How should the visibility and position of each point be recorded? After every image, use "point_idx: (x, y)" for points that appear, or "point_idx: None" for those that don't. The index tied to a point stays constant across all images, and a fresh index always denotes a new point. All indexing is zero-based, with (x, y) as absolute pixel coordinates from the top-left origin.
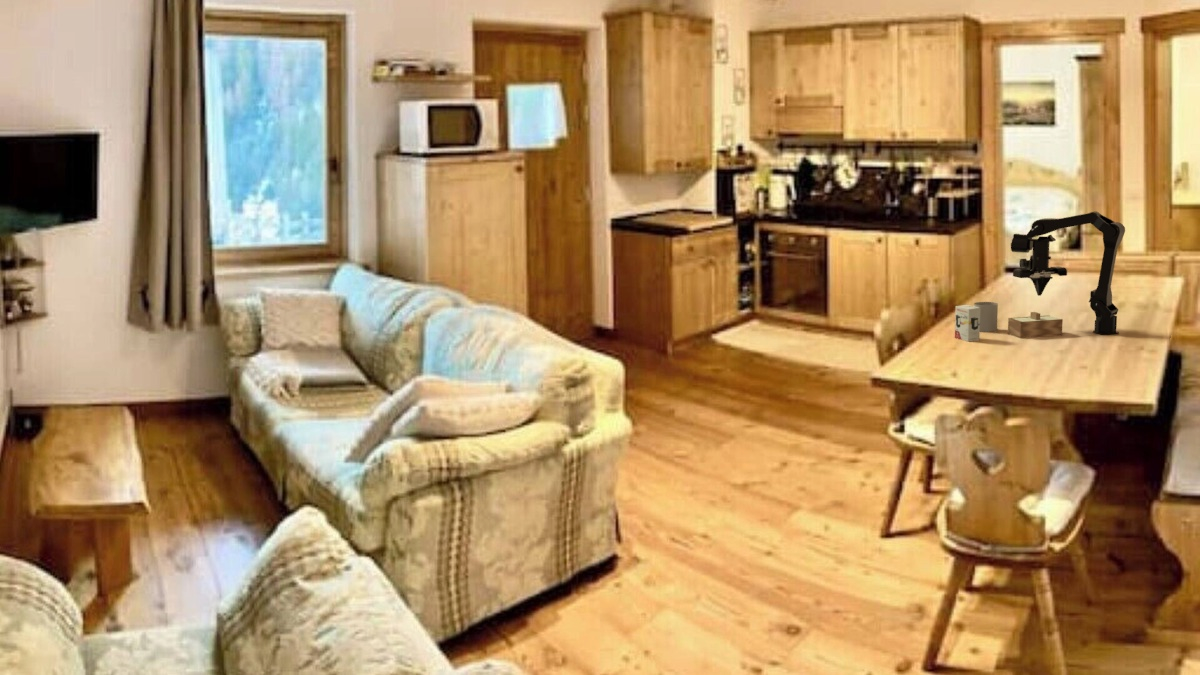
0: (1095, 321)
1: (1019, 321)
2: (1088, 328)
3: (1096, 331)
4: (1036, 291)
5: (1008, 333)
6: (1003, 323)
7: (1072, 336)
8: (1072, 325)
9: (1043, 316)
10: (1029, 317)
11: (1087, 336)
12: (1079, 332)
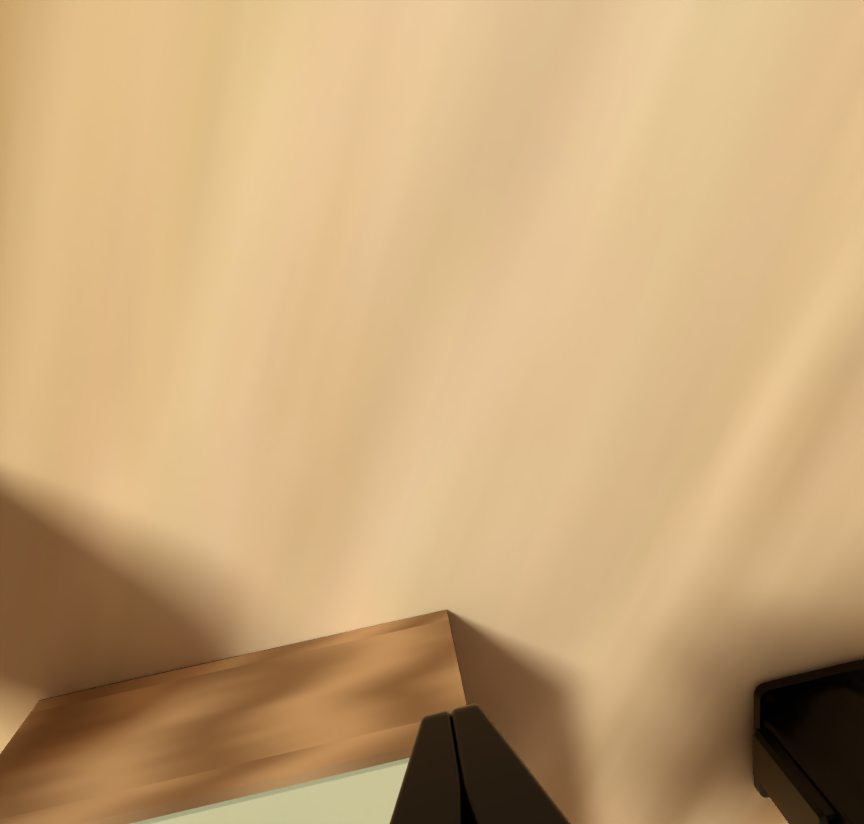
0: (814, 819)
1: None
2: (816, 524)
3: (753, 758)
4: (398, 809)
5: (40, 711)
6: (75, 63)
7: None
8: (774, 355)
9: (385, 772)
10: (203, 820)
11: (634, 817)
12: (657, 680)
